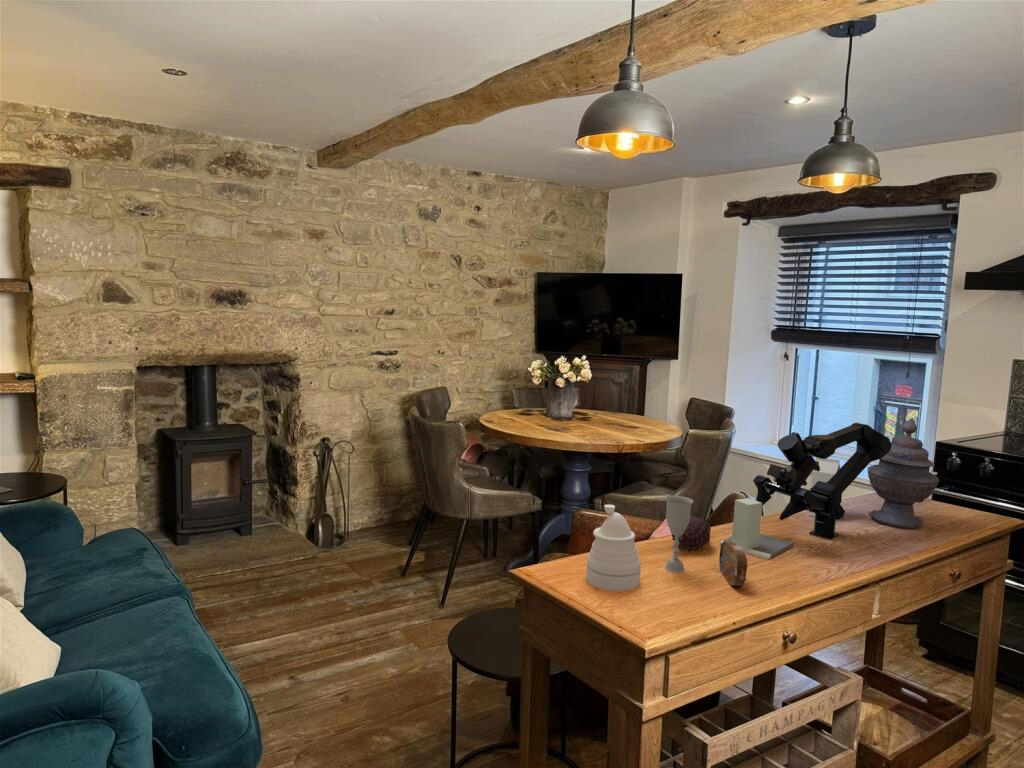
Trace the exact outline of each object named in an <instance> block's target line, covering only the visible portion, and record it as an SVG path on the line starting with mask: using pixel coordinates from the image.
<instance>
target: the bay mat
mask: <svg viewBox="0 0 1024 768" xmlns="http://www.w3.org/2000/svg"><path fill="white" fill-rule="evenodd" d="M724 541H727V542H732V536H730V537H728V538H726V539H724V540H721V541H720V542H719V546H720V547H721V545H722V543H723V542H724ZM790 547H791V548H792V547H794V542H793V541H789V540H784V539H782V538H777V537H773V536H770V535H766V534H762V533H760V537H759V547H757V548H751V549H746V550H745V549H743V548H741V547H739V548H740V549H741V550H742V551H743V552H744V553H745V554H748V555H751V556H754V557H758V558H760V559H764V560H769V559H772V558H774V557H776V556H777V554H778V555H779V554H781V553H783V552H785V551H787V550H788V548H789V549H790Z"/></svg>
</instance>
